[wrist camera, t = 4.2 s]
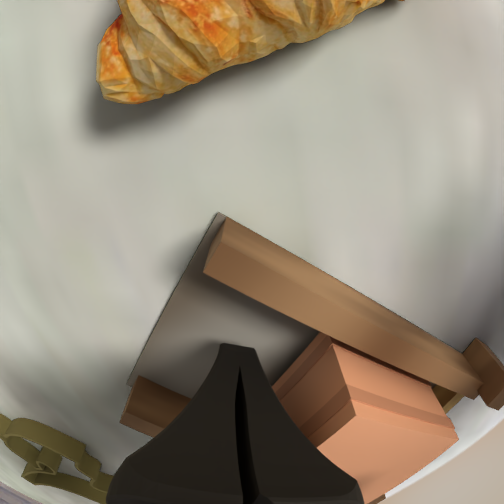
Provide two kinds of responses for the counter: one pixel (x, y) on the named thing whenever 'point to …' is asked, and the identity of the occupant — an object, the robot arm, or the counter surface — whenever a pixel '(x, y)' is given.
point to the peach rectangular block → (364, 414)
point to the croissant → (204, 39)
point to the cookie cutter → (54, 458)
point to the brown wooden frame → (282, 329)
